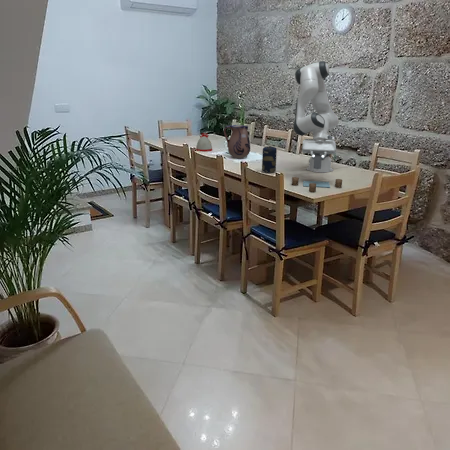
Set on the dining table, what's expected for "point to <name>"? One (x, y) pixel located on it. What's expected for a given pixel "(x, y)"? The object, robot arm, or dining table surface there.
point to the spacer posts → (313, 186)
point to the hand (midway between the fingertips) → (317, 158)
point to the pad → (317, 184)
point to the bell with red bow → (204, 143)
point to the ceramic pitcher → (238, 141)
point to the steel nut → (317, 161)
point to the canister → (269, 159)
